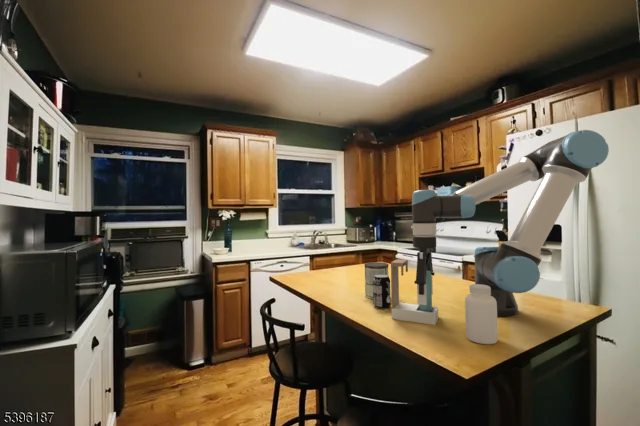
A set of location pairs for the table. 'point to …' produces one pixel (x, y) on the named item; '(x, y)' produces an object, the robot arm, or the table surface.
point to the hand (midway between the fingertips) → (425, 299)
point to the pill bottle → (481, 315)
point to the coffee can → (370, 271)
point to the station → (404, 309)
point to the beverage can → (381, 291)
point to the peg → (429, 294)
